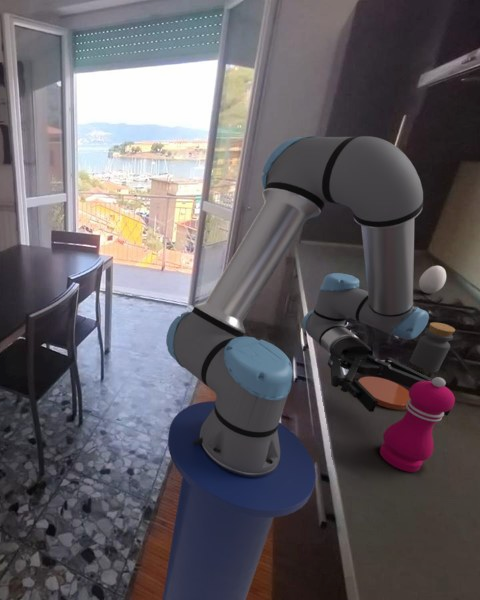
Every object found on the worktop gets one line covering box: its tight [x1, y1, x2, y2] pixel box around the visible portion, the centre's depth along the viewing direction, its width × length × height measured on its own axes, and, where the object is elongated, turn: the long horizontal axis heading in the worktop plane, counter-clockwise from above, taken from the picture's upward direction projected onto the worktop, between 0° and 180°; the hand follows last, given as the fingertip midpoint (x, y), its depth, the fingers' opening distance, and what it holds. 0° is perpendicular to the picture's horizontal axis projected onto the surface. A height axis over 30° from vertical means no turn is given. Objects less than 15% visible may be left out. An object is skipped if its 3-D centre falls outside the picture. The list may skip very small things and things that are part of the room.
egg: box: [418, 265, 447, 295], centre depth 143 cm, size 7×7×12 cm
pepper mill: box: [379, 376, 456, 473], centre depth 67 cm, size 7×7×20 cm
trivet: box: [358, 375, 410, 411], centre depth 89 cm, size 11×11×2 cm
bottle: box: [409, 321, 456, 373], centre depth 93 cm, size 6×6×15 cm
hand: (410, 408), depth 69 cm, fingers open, 13 cm apart
